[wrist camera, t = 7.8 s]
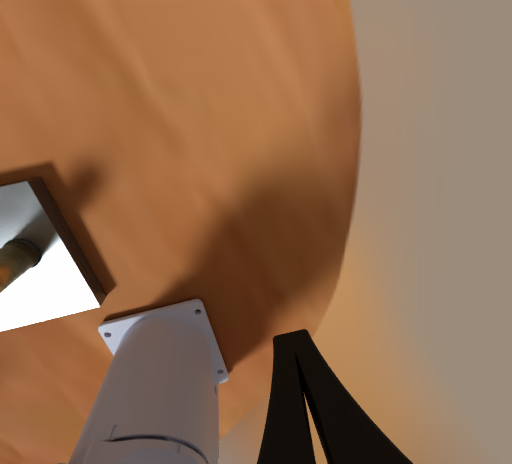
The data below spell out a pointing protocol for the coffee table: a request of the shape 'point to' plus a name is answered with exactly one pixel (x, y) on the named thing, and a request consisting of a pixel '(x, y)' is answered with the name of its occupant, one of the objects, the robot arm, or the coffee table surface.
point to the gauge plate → (40, 259)
